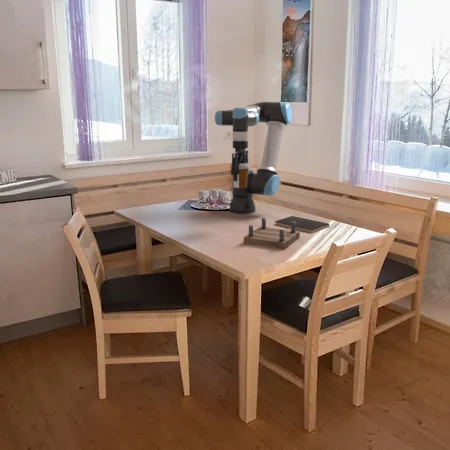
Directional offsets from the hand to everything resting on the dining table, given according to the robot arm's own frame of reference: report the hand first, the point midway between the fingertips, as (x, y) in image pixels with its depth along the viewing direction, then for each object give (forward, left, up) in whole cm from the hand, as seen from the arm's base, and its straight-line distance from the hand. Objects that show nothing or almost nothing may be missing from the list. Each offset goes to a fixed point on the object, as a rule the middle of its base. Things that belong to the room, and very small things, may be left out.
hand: (240, 185), depth 249 cm
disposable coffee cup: (0, 0, -1) cm, 1 cm away
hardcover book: (-16, +28, -22) cm, 39 cm away
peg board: (+15, +24, -21) cm, 35 cm away
